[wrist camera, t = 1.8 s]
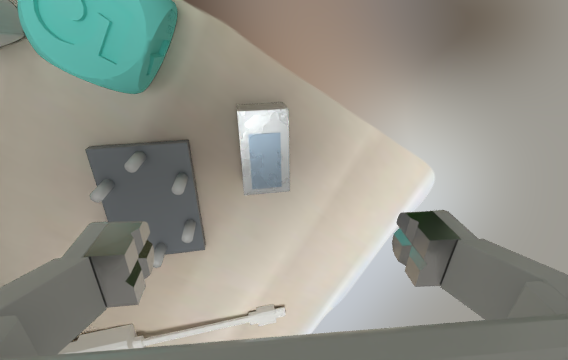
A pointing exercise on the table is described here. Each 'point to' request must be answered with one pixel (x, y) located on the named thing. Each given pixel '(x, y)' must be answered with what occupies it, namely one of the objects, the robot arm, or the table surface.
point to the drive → (264, 147)
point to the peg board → (151, 192)
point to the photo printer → (9, 23)
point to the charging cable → (128, 338)
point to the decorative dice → (102, 38)
